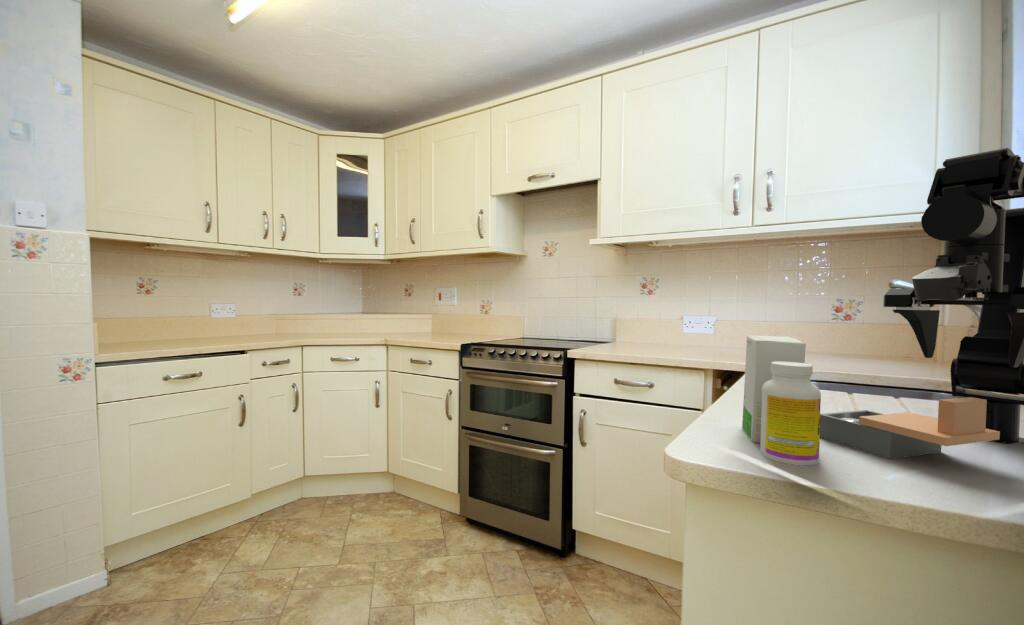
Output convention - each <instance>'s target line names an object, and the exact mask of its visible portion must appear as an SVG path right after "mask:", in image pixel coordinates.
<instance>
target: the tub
mask: <svg viewBox="0 0 1024 625" xmlns="http://www.w3.org/2000/svg"><path fill="white" fill-rule="evenodd" d="M883 414H884V413H881V412H877V411H871V410H867V409H863V410H850V411H839V412H829V413H827V412H826V413H820V438H821V439H824V440H828V441H831V442H832V443H833V442H834V443H837V444H840V445H843V446H846V447H850V448H853V449H856V450H859V451H863V452H865V453H870V454H872V455H875V456H879V457H882V458H884V459H889V460H895V459H900V458H909V457H916V456H922V455H931V454H940V453H942V445H939V444H935V443H931V442H927V441H923V440H919V439H916V438H912V437H908V436H904V435H900V434H896V433H892V432H888V431H885V430H881V429H877V428H873V427H869V426H865V425H861V424H859V423H855V422H851V421H847V420H843V419H841V418H853V419H859V417H860V416H872V415H883Z"/></svg>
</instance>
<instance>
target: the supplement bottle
mask: <svg viewBox="0 0 1024 625" xmlns="http://www.w3.org/2000/svg"><path fill="white" fill-rule="evenodd" d="M813 369H814V367H813V365H812V364H810V363H798V362H784V361H776V362H771V371H772V372H771V373H772V374H773V375H772V379H771V380H769V381H767V382H765V383H764V385H763V386H762V410H761V442H759V443H760V444H759V446H760V450H759V452H760V454H761V455H762V456H763V457H765V458H767V459H770V460H772V461H776V462H779V463H782V464H787V465H788V464H789V465H795V466H796V465H797V466H814V465H817V464H818V463H819V461H820V443H821V441H820V440H821V439H820V414H821V398H822V393H821V390H820V389H819V387H818V386H817V385H815V384H813V383H812V382H811V378H812V376H813V372H814V371H813Z"/></svg>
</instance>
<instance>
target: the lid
mask: <svg viewBox="0 0 1024 625" xmlns="http://www.w3.org/2000/svg"><path fill="white" fill-rule="evenodd" d="M986 407H987V400H985V399H979V398H973V397H954V398H953V397H952V398H942V399H938V409H937V410H938V411H937V417H933V416H928V415H924V414H920V413H915V412H910V411H909V412H906V411H905V412H898V413H896V412H895V413H886V414H884V413H882V414H883V415H872V416H861V417H859V424H861V425H865V426H869V427H873V428H877V429H881V430H885V431H888V432H892V433H896V434H900V435H904V436H908V437H912V438H916V439H919V440H923V441H927V442H931V443H935V444H939V445H941V446H943V447H950V446H951V447H952V446H960V445H966V444H975V443H981V442H982V443H984V442H990V441H991V440H999V439H1000V431H995V430H990V429H986ZM991 442H992V441H991Z"/></svg>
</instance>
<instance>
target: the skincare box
mask: <svg viewBox="0 0 1024 625" xmlns="http://www.w3.org/2000/svg"><path fill="white" fill-rule="evenodd" d="M806 347H807V345H806V343H805V342H802V341H800V340H799V339H797V338H793V337H790V336H783V335H782V336H779V335H777V336H775V335H757V334H756V335H754V334H752V335H751V334H748V335H746V348H745V351H746V352H745V366H744V367H745V368H744V385H743V386H744V387H743V388H744V389H743V407H742V420H741V421H742V424H741V425H742V426H741V428H742V430H743V432H744V433H745V434H746V436H747V437H748V438H749V440H750V441H751V442H753V443H760V442H761V410H762V386H763V385H764V383H765V382H767V381H769V380H771V379H772V375H773V374H772V373H771V372H772V371H771V362H776V361H784V362H798V363H805V362H806ZM805 364H806V363H805Z"/></svg>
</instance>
